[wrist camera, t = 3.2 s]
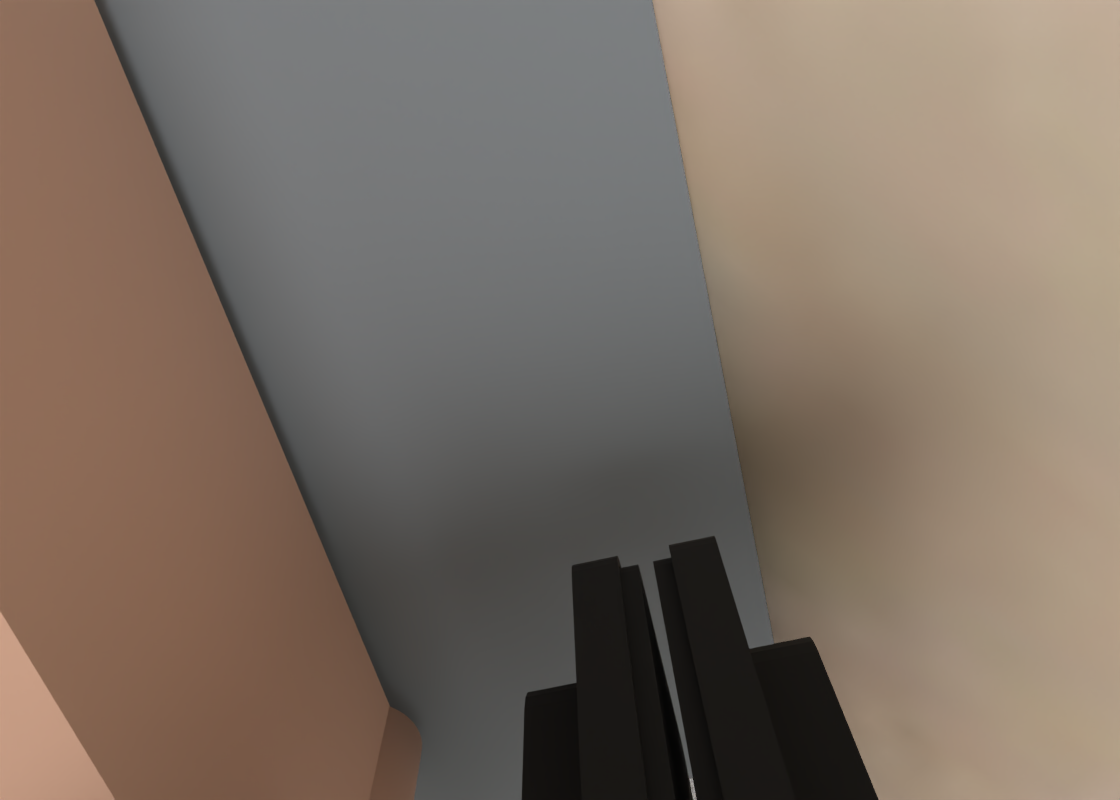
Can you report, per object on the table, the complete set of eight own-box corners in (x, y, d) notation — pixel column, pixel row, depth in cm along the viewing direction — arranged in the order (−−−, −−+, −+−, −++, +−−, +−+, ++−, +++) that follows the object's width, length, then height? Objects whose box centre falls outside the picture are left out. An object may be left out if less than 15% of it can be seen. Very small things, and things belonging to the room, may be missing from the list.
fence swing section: (-40, -1, 11) (-876, 21, 4) (103, -43, 11) (-550, -78, 4) (335, 791, 16) (198, 1324, 10) (435, 771, 16) (362, 1299, 10)
